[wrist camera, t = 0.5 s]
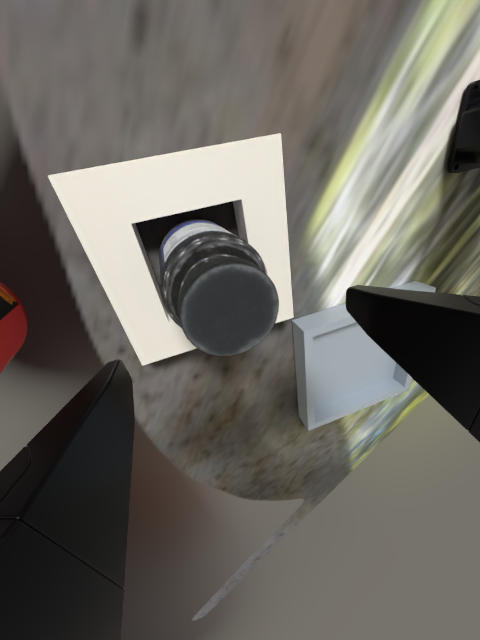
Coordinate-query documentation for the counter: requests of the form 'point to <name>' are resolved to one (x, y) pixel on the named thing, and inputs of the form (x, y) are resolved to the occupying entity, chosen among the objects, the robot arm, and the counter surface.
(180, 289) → the pill bottle
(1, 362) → the canned food
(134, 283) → the white square frame
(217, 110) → the counter surface
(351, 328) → the tray
